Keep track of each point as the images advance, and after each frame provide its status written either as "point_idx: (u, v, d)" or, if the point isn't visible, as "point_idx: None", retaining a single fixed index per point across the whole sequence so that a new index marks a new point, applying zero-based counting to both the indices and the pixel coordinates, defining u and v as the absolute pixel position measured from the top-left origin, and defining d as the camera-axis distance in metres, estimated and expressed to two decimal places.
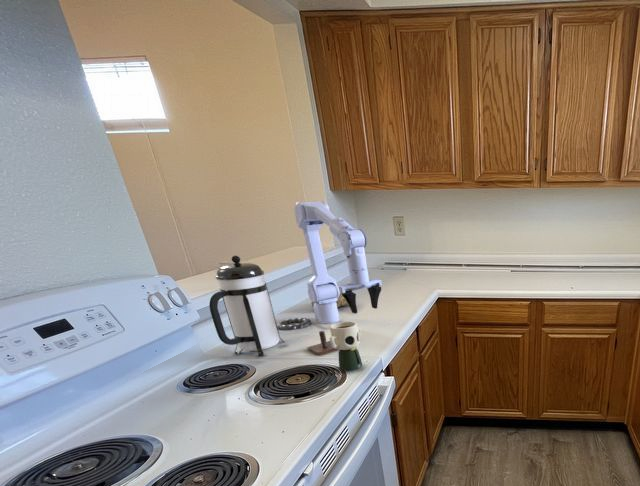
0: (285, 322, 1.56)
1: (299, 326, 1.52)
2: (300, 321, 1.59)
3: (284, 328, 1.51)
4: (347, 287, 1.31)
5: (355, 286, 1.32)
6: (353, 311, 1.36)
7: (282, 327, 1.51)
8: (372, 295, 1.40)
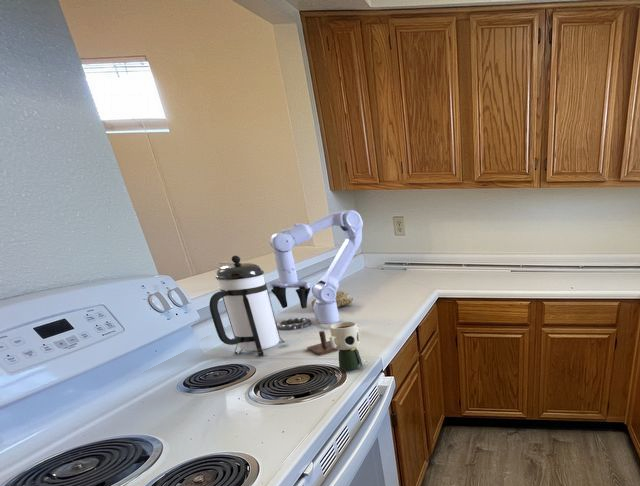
0: (285, 322, 1.56)
1: (299, 326, 1.52)
2: (300, 321, 1.59)
3: (284, 328, 1.51)
4: (273, 283, 1.47)
5: (277, 284, 1.46)
6: None
7: (282, 327, 1.51)
8: None
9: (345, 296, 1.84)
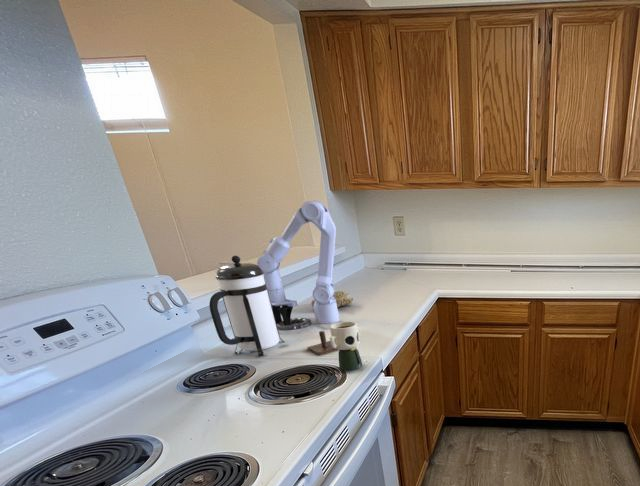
0: None
1: (299, 326, 1.52)
2: (300, 321, 1.59)
3: (284, 328, 1.51)
4: None
5: None
6: None
7: (282, 327, 1.51)
8: None
9: (345, 296, 1.84)
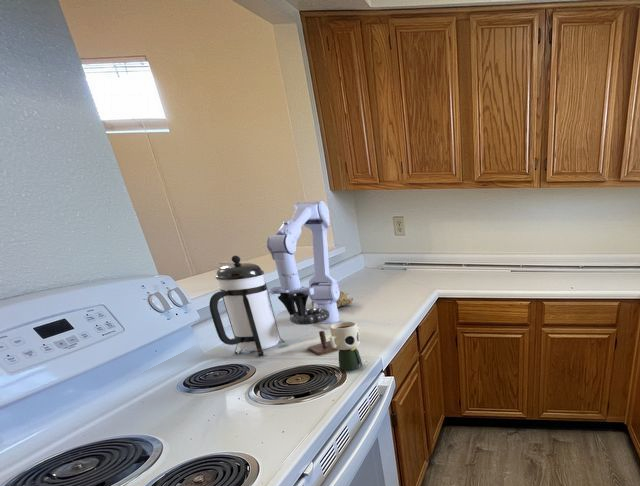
0: None
1: (316, 317, 1.33)
2: (316, 312, 1.39)
3: (299, 319, 1.31)
4: (274, 289, 1.34)
5: (279, 290, 1.33)
6: None
7: (297, 318, 1.31)
8: None
9: (345, 296, 1.84)
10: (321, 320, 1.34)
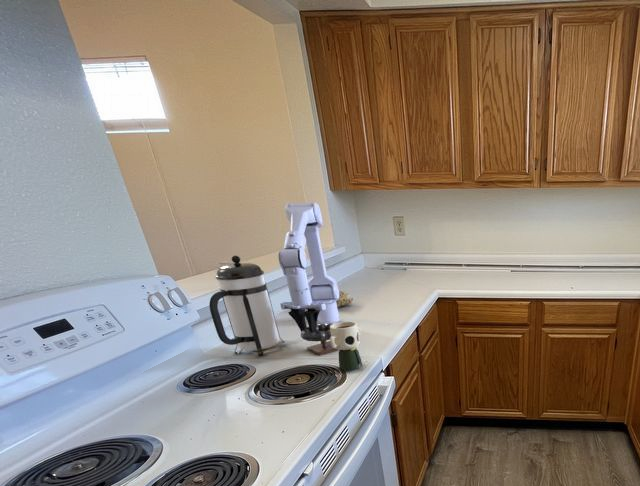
0: None
1: (328, 334, 1.28)
2: (327, 327, 1.35)
3: (311, 336, 1.27)
4: (284, 305, 1.30)
5: (289, 305, 1.29)
6: None
7: (308, 335, 1.27)
8: None
9: (345, 296, 1.84)
10: None
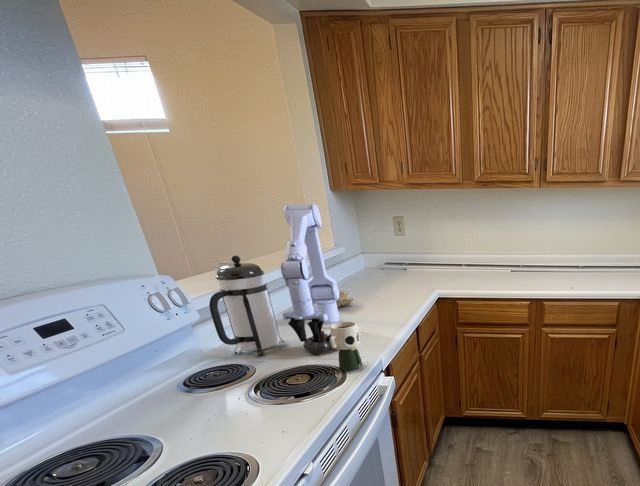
0: (313, 339, 1.34)
1: (330, 344, 1.30)
2: None
3: (313, 346, 1.28)
4: (287, 315, 1.31)
5: (292, 316, 1.30)
6: None
7: (311, 345, 1.29)
8: None
9: (345, 296, 1.84)
10: None
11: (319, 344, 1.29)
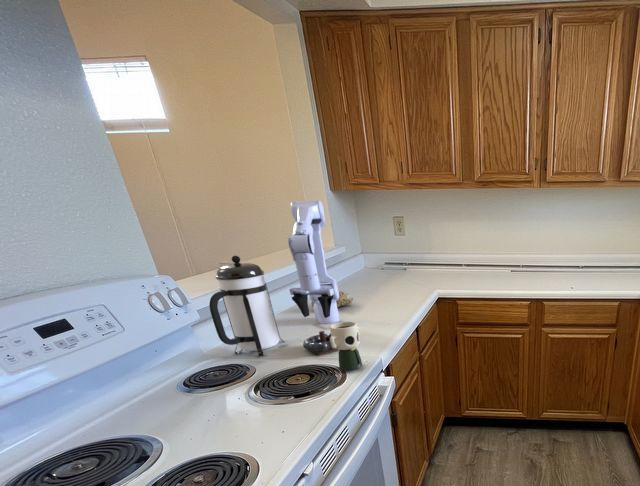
0: (313, 339, 1.34)
1: (330, 344, 1.30)
2: None
3: (313, 346, 1.28)
4: (293, 290, 1.33)
5: (298, 291, 1.32)
6: None
7: (311, 345, 1.29)
8: None
9: (345, 296, 1.84)
10: None
11: (319, 344, 1.29)
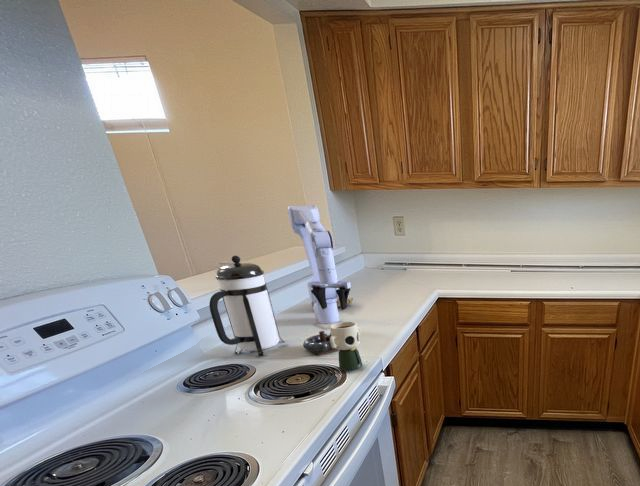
0: (313, 339, 1.34)
1: (330, 344, 1.30)
2: None
3: (313, 346, 1.28)
4: (313, 283, 1.42)
5: (317, 284, 1.40)
6: None
7: (311, 345, 1.29)
8: None
9: None
10: None
11: (319, 344, 1.29)
